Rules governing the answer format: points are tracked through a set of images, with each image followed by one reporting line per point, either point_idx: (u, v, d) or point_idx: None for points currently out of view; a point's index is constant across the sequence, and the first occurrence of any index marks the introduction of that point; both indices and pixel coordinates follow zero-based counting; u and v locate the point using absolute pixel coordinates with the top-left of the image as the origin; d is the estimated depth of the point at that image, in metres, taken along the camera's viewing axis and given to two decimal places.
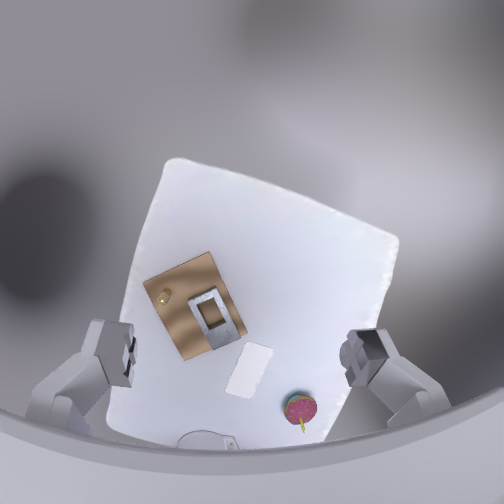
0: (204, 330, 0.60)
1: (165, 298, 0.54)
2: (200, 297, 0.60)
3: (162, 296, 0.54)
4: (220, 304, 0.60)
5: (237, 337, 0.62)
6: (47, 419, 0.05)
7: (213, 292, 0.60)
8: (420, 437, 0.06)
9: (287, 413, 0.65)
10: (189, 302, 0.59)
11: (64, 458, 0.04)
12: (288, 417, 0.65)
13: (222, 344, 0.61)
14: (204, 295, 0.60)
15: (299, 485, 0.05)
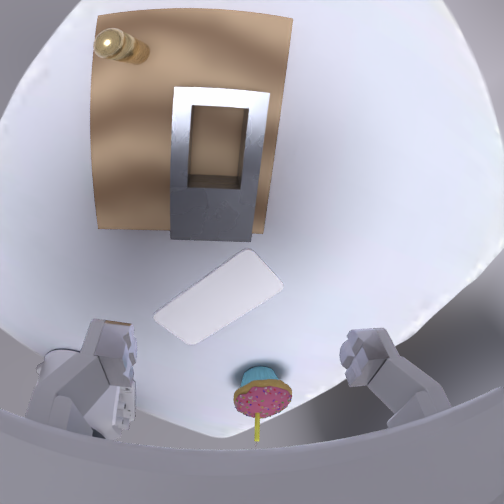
0: (175, 181, 0.21)
1: (120, 37, 0.12)
2: (215, 92, 0.18)
3: (116, 30, 0.12)
4: (255, 136, 0.20)
5: (243, 237, 0.24)
6: (47, 419, 0.05)
7: (257, 97, 0.19)
8: (420, 437, 0.06)
9: (241, 398, 0.37)
10: (178, 90, 0.18)
11: (64, 458, 0.04)
12: (239, 404, 0.37)
13: (199, 235, 0.24)
14: (228, 92, 0.18)
15: (299, 485, 0.05)
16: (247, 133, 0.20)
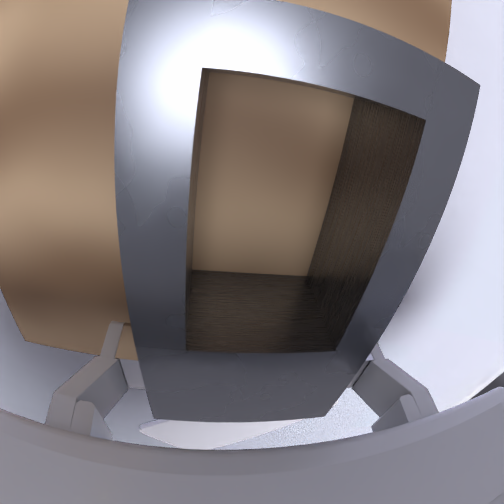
0: (149, 337, 0.07)
1: None
2: (313, 24, 0.03)
3: None
4: (421, 219, 0.06)
5: (313, 413, 0.10)
6: (69, 425, 0.05)
7: (451, 88, 0.04)
8: (420, 437, 0.06)
9: None
10: (147, 6, 0.03)
11: (64, 458, 0.04)
12: None
13: (218, 418, 0.09)
14: (366, 40, 0.04)
15: (299, 485, 0.05)
16: (402, 207, 0.05)
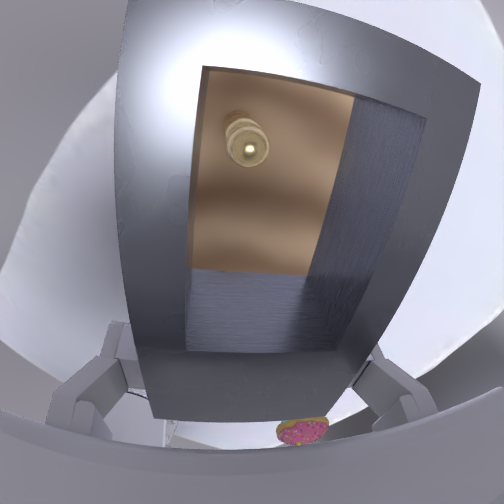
0: (149, 336, 0.07)
1: (268, 147, 0.13)
2: (314, 22, 0.03)
3: (261, 133, 0.12)
4: (421, 217, 0.06)
5: (314, 413, 0.10)
6: (69, 425, 0.05)
7: (452, 87, 0.04)
8: (420, 437, 0.06)
9: (286, 431, 0.38)
10: (148, 4, 0.03)
11: (64, 458, 0.04)
12: (283, 436, 0.39)
13: (218, 417, 0.09)
14: (367, 38, 0.04)
15: (299, 485, 0.05)
16: (403, 206, 0.05)
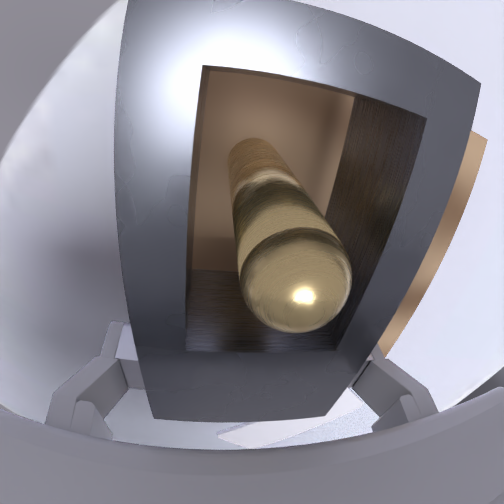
0: (149, 336, 0.07)
1: None
2: (314, 22, 0.03)
3: (336, 252, 0.05)
4: (422, 217, 0.06)
5: (314, 413, 0.10)
6: (69, 425, 0.05)
7: (452, 86, 0.04)
8: (420, 437, 0.06)
9: None
10: (148, 4, 0.03)
11: (64, 458, 0.04)
12: None
13: (218, 418, 0.09)
14: (367, 37, 0.04)
15: (299, 485, 0.05)
16: (403, 205, 0.05)
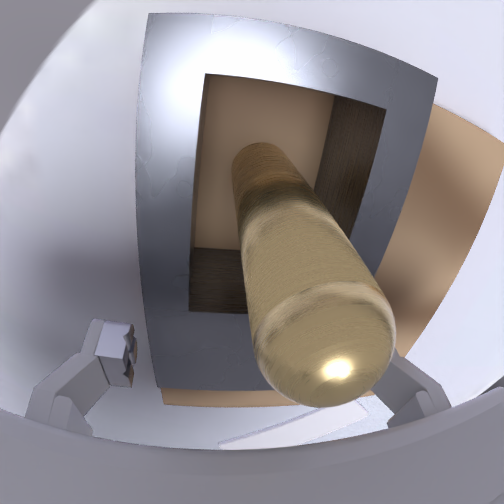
0: (157, 298, 0.08)
1: None
2: (290, 38, 0.05)
3: (381, 314, 0.03)
4: (388, 193, 0.07)
5: None
6: (47, 419, 0.05)
7: (409, 82, 0.05)
8: (420, 437, 0.06)
9: None
10: (162, 25, 0.04)
11: (64, 458, 0.04)
12: None
13: (217, 385, 0.11)
14: (333, 47, 0.05)
15: (299, 485, 0.05)
16: (370, 182, 0.07)
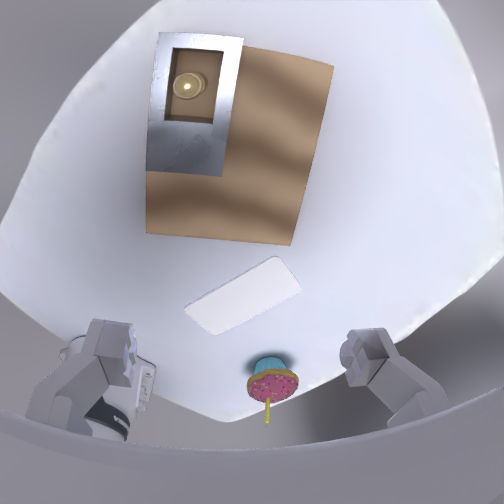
0: (153, 115, 0.21)
1: (200, 84, 0.17)
2: (194, 36, 0.18)
3: (195, 75, 0.16)
4: (229, 75, 0.20)
5: (215, 171, 0.24)
6: (47, 419, 0.05)
7: (232, 42, 0.18)
8: (420, 437, 0.06)
9: (255, 384, 0.43)
10: (162, 35, 0.17)
11: (64, 458, 0.04)
12: (252, 389, 0.43)
13: (172, 168, 0.24)
14: (206, 37, 0.18)
15: (299, 485, 0.05)
16: (221, 72, 0.20)
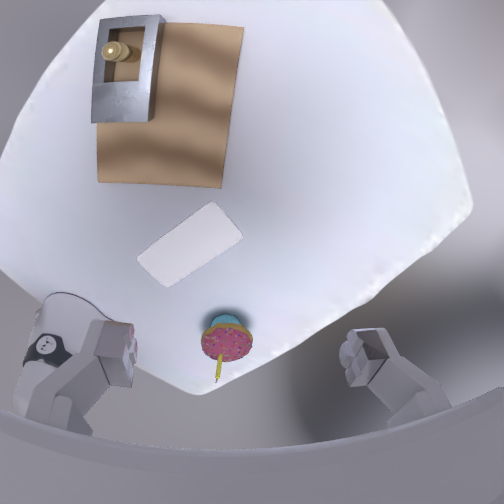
0: (96, 79, 0.24)
1: (118, 48, 0.19)
2: (124, 19, 0.20)
3: (116, 42, 0.19)
4: (149, 43, 0.23)
5: (142, 118, 0.27)
6: (47, 419, 0.05)
7: (151, 18, 0.21)
8: (420, 437, 0.06)
9: (206, 338, 0.45)
10: (102, 21, 0.20)
11: (64, 458, 0.04)
12: (205, 344, 0.45)
13: (110, 118, 0.26)
14: (132, 18, 0.21)
15: (299, 485, 0.05)
16: (144, 42, 0.22)
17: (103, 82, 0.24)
